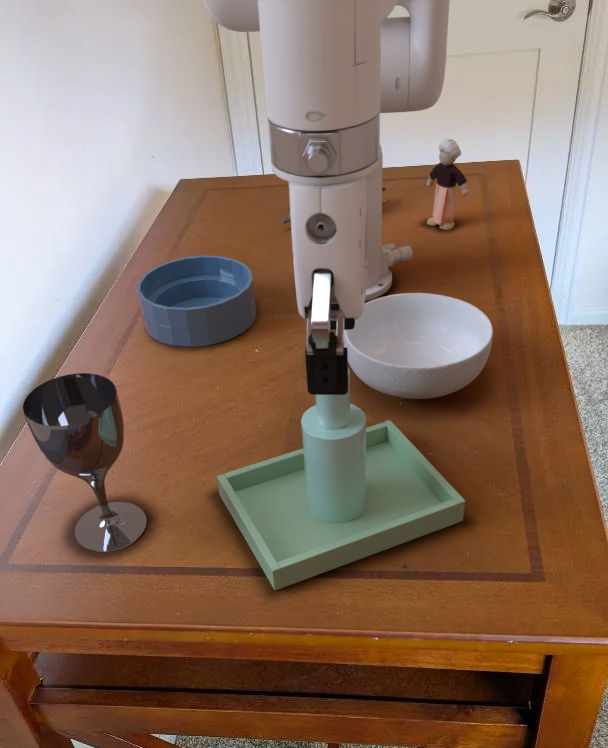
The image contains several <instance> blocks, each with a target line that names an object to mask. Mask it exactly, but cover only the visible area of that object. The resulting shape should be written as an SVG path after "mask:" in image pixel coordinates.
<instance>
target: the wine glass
mask: <svg viewBox="0 0 608 748" xmlns="http://www.w3.org/2000/svg"><path fill="white" fill-rule="evenodd" d="M22 411H23V416H24V418H25V420H26V423H27V426H28V428H29V430H30V433H31V436H32V437H33V439H34V441H35V443H36V444H37V446H38V447H39V449H40V451H41V452H42V454H43V455H44V457H45V458H46V460H47V461H49V463H50V464H52V466H53V467H54V468H56V469H57V470H59V471H60V472H62V473H64V474H67V475H68V476H72V477H75V478H78V479H80V480H83V482H85V483H87V484H88V485H89V486H90V488H91V489H92V491H93V493H94V496H95V497H96V499H97V502H98V504H99V505H97V506H95V507H94V508H91V509H90V510H88V511H87V512H86V513H84V515H82V516H81V517H80V518H79V520H78V521H77V523H76V525H75V528H74V539H75V540H76V542H77V544H78V545H80V546H81V547H82V548H84V549H86V550H88V551H92V552H96V553H108V552H115V551H119V550H121V549H124V548H126V547H129V546H130V545H132V544H133V543H135V542H136V541H137V540H138V539H140V538H141V536H142V535H143V534H144V532H145V531H146V529H147V526H148V518H147V514H146V513H145V511H144V510H143V509H142V508H141V507H140V506H138V505H136V504H134V503H130V502H125V501H113V502H109V501H108V498H107V497H108V496H107V491H106V485H105V484H106V483H105V481H106V476H107V474H108V473H109V471H110V469H111V468H112V467H113V465H114V464H115V462H117V460H118V459H119V456H120V455H121V453H122V450H123V447H124V442H125V441H124V440H125V439H124V438H125V425H124V414H123V408H122V405H121V401H120V397H119V393H118V389H117V387H116V385H115V383H114V382H113V381H112V380H111V379H110V378H108V377H106V376H104V375H100V374H96V373H90V372H80V373H77V372H76V373H70V374H65V375H60V376H58V377H54V378H51V379H49V380H47V381H45V382H43V383H41V384H39V385H37V386H36V387H35V388H33V389H32V390H31V391H30V392H29V393H28V395H26V397H25V399H24V401H23V404H22Z"/></svg>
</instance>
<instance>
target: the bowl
mask: <svg viewBox="0 0 608 748" xmlns="http://www.w3.org/2000/svg"><path fill="white" fill-rule="evenodd" d="M136 295H137V299H138V303H139V308H140V313H141V316H142V321H143V326H144V329H145V330H146V332H147V334H148V335H149V336H150V337H151V338H152V339H154V340H155V341H158V342H159V343H161V344H166V345H169V346H175V347H187V348H188V347H189V348H196V347H205V346H213V345H216V344H219V343H223V342H226V341H229V340H231V339H233V338H235V337H238V336H239V335H242V334H243V333H244V332H246V331H247V330H248V329H249V328H251V326H252V325H253V324H254V322H255V320H256V318H257V316H258V314H257V313H258V312H257V305H256V296H255V287H254V277H253V271H252V270H251V269H250V268H249V266H247V264H245V263H244V262H241V261H239V260H237V259H235V258H232V257H227V256H221V255H194V256H185V257H181V258H177V259H173V260H169V261H166V262H163V263H162V264H159V265H157V266H154V267H153V268H151V269H150V270H149V271H147V272H145V273H144V274H143V275H142V276H141V278H140V279H139V280H138V281H137V283H136Z"/></svg>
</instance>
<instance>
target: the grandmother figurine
mask: <svg viewBox="0 0 608 748" xmlns="http://www.w3.org/2000/svg"><path fill="white" fill-rule="evenodd" d="M438 150H439V154H438V158H439V163H437V164H436V165H435V166H434V167H433V168H432V169H431V171H430V172H429V176H428V179H427V182H426V186H427V187H428V188H431V187H433V186H434V183H435V182H436V185H435V189H434V190H435V191H434V199H433V200H434V201H433V210H432V216H431V217H429V218H428V219H427V221H426V225H428V226H438V225H439V226H438V227H439V229H441V230H445V231H449V230H451V229H453V228H454V227H455V225H456V224H455V221H454V216H455V209H456V189H457V186H458V187H459V188H460V190H461V195H462V196H468V194H469V193H470V192H469V189H468V180H467V178H466V177H465V175H464V173H463V172H462V171H461V170H460V169H459V168H458V167H457V166H456V165H455V164H454V163H455V162H456V160H457V159H458V158H459V157H460V156H462V150H461V148H460V145H459V144H458V143H457V141H456V140H455V139H451V138H444V139H442V140H441V141H440V142H439V145H438Z"/></svg>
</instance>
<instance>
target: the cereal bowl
mask: <svg viewBox="0 0 608 748" xmlns="http://www.w3.org/2000/svg"><path fill="white" fill-rule="evenodd" d="M493 337H494V329H493V325H492V322H491V321H490V318H489V317H488V316H487V315H486V313H484V311H482V310H481V309H479V308H478V307H476V306H475V305H473V304H471V303H469V302H467V301H464V300H462V299H459V298H456V297H452V296H448V295H443V294H437V293H429V292H428V293H426V292H408V293H407V292H405V293H396V294H389V295H386V296H382V297H381V296H380V297H377V298H375V299H372V300H369V301H366V302H365V305H364V312H363V314H362V316H361V317H360V318H358V319H355V327H354V328H353V329H351V330H344V348H347V350H348V365H349V367H350V368H351V370H352V372H353V373H354V374H355V376H356V377H358V378H359V380H361V381H362V382H363V383H364V384H365V385H367V386H368V387H370V388H372V389H373V390H375V391H378V392H379V393H382V394H385V395H389V396H391V397H397V398H402V399H411V400H427V399H433V398H440V397H444V396H447V395H450V394H453V393H456V392H458V391H460V390H462V389H464V388H465V387H467V386H468V385H469V384H470V383H472V382H473V381H474V380H475V379H476V378H477V377H478V376H479V375H480V374H481V372H482V371H483V369H484V367H485V366H486V365H487V361H488V360H489V356H490V353H491V349H492V343H493Z"/></svg>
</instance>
